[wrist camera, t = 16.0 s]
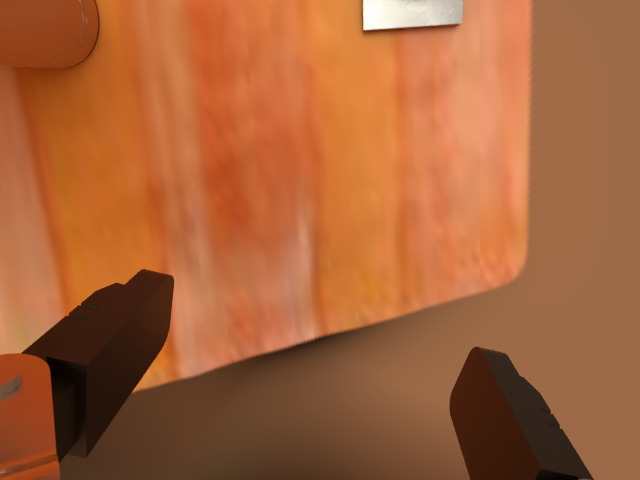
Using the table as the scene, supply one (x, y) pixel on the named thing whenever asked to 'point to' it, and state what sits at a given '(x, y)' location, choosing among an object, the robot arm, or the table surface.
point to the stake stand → (410, 14)
